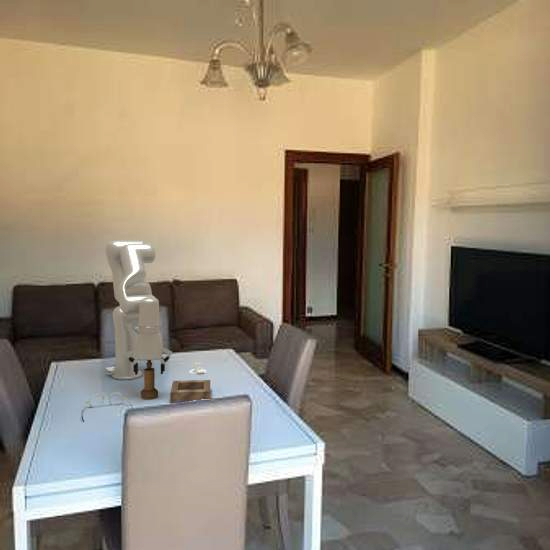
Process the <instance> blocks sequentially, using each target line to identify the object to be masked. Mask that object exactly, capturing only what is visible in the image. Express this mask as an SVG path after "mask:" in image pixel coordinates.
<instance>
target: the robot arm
mask: <svg viewBox="0 0 550 550" xmlns="http://www.w3.org/2000/svg"><path fill="white" fill-rule="evenodd" d="M105 256H106V259H107V263H108V265H109V267H110V270H111V273H112V275H111V276H112V284H113V285H112V287H113V292H114V293H113V294H114V299H115V300H116V302H118V304H119V305H117V306H116V307H115V308H114V309H113V312H112V319H113V324H114V336H115V337H114V338H115V339H114V340H115V342H114V343H115V344H114V345H115V347H114V348H115V366H105V372H107V373H111V375H112V376H111V377H112V379H115V380H120V381H121V380H123V381H124V380H135V379H138V378H140V377H142V376H143V375H142V371H141V370H139V361H147V360H151V361H159V362H160V375H163V374H164V372H165V371H166V363H167V362H168V361H169V360H170V359H171V356H172V355H173V351H171V350H169V349H167V348H165V347H163V338H162V333H161V332H160V307H159V306H160V301H159V299H158V298H156V297H155V296H154V295H153V294H152V292H153V291H152V287H151V284H150V283H149V282H148V281H147V280H144V279H146V276H147V271H146V267H145V264H152V263H154V262H155V260H156V250H155V248H154V246H153V244H152V243H150V242H148V241H145V240H142V239H141V240H133V239H131V240H129V239H126V240H125V239H119V240H117V239H116V240H111V241H109V242H108V243H107V244H106V247H105ZM133 327H134V328H133ZM136 331H137V332H138V333H137V332H136ZM163 353H165V354H167V355H166V357H164V356H163Z"/></svg>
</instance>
